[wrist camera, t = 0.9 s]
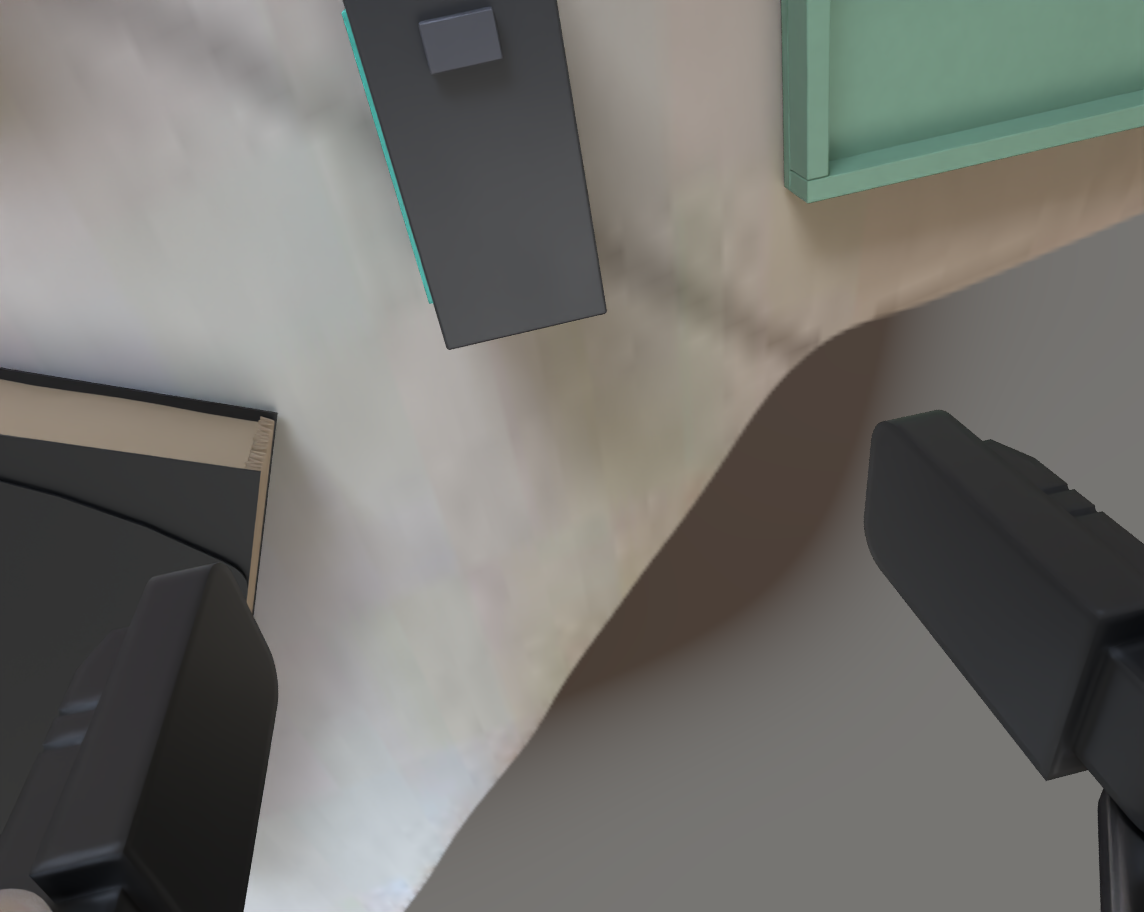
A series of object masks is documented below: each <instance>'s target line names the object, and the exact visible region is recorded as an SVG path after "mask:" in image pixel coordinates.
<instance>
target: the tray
mask: <svg viewBox="0 0 1144 912" xmlns="http://www.w3.org/2000/svg"><path fill="white" fill-rule="evenodd" d="M781 17H782V72H783V128H784V183H785V188H787V189H788V190H790V191H791V192H792V193H794V194H795V195H796V196H798V197H799V198H801V199H802V200H803V201H805V202H806V203H812V202H816V201H821V200H825V199H829V198H834V197H838V196H842V195H847V194H851V193H856V192H860V191H864V190H869V189H873V188H877V187H882V186H886V185H890V184H895V183H899V182H903V181H908V180H912V179H916V178H921V177H925V176H929V175H934V174H938V173H942V172H947V171H951V170H955V169H960V168H964V167H968V166H973V165H977V164H981V163H986V162H990V161H994V160H999V159H1003V158H1008V157H1012V156H1016V155H1021V154H1025V153H1029V152H1034V151H1038V150H1042V149H1047V148H1051V147H1055V146H1060V145H1064V144H1068V143H1073V142H1077V141H1081V140H1086V139H1090V138H1094V137H1099V136H1103V135H1107V134H1112V133H1116V132H1120V131H1125V130H1129V129H1133V128H1138V127H1142V126H1144V0H781Z"/></svg>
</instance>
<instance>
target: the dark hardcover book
mask: <svg viewBox="0 0 1144 912" xmlns="http://www.w3.org/2000/svg"><path fill="white" fill-rule="evenodd" d="M276 422H277V413H276V412H270V411H264V410H257V409H251V408H245V407H239V406H233V405H227V404H220V403H214V402H208V401H202V400H196V399H190V398H184V397H177V396H171V395H165V394H159V393H153V392H147V391H140V390H134V389H128V388H122V387H116V386H110V385H104V384H97V383H91V382H85V381H79V380H73V379H67V378H60V377H54V376H48V375H42V374H36V373H30V372H24V371H17V370H11V369H5V368H0V836H1V834H2V832H3V830H4V828H5V825H6V823H7V821H8V819H9V817H10V814H11V812H12V810H13V808H14V806H15V803H16V801H17V799H18V797H19V795H20V792H21V790H22V788H23V786H24V784H25V781H26V779H27V777H28V775H29V773H30V771H31V768H32V766H33V764H34V762H35V760H36V757H37V755H38V753H43V751H44V747H43V745H42V744H43V742H44V740H45V738H46V735H47V733H48V731H49V729H50V727H51V724H52V722H53V720H54V718H57V717H59V711H58V709H59V707H60V705H61V702H62V700H63V698H64V696H65V694H66V691H67V689H68V687H69V685H70V683H71V680H72V678H73V676H74V674H75V672H76V669H77V668H78V667H79V666H80V665H81V664H82V663H83V661H84V660H85V659H86V658H87V657H88V656H89V655H90V654H91V652H92V651H93V650H94V649H95V648H96V647H97V646H98V645H99V644H100V642H101V641H102V640H103V639H104V638H105V637H106V636H107V635H108V633H109V632H110V631H111V630H115V629H120V628H124V627H129V625H130V623H131V621H132V618H133V616H134V613H135V611H136V608H137V606H138V603H139V601H140V598H141V596H142V593H143V591H144V588H145V586H146V584H147V582H148V581H149V580H150V579H151V578H152V577H154V576H158V575H162V574H167V573H172V572H176V571H181V570H186V569H190V568H195V567H200V566H204V565H209V564H214V563H218V562H220V563H223V564H225V565H226V566H227V567H228V568H229V569H230V571H231V572H232V574H233V576H234V578H235V580H236V582H237V584H238V586H239V588H240V590H241V592H242V594H243V596H244V598H245V600H246V602H247V604H248V606H249V608H250V610H251V612H252V615H254V607H255V599H256V590H257V582H258V573H259V565H260V556H261V548H262V540H263V531H264V523H265V514H266V506H267V498H268V489H269V481H270V472H271V464H272V455H273V447H274V439H275V430H276Z"/></svg>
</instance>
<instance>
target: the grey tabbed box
mask: <svg viewBox="0 0 1144 912" xmlns="http://www.w3.org/2000/svg"><path fill="white" fill-rule="evenodd" d="M343 3H344V6H345V9H344V10H343V12H342V17H343V20H344V23H345V26H346V30H347V33H348V36H349V40H350V43H351V46H352V50H353V53H354V56H355V60H356V63H357V66H358V69H359V73H360V76H361V79H362V83H363V86H364V89H365V93H366V96H367V99H368V103H369V106H370V109H371V113H372V116H373V119H374V122H375V126H376V129H377V132H378V136H379V139H380V142H381V146H382V149H383V152H384V156H385V159H386V162H387V165H388V169H389V172H390V175H391V179H392V182H393V185H394V189H395V192H396V195H397V199H398V202H399V205H400V209H401V212H402V215H403V218H404V222H405V225H406V228H407V232H408V235H409V238H410V242H411V245H412V248H413V252H414V255H415V258H416V261H417V265H418V268H419V271H420V275H421V278H422V281H423V285H424V288H425V291H426V295H427V298H428V301H429V304H431V303H433V304H434V307H435V311H436V314H437V317H438V321H439V324H440V328H441V331H442V334H443V338H444V341H445V344H446V348H447V349H448V350H451V349H455V348H460V347H464V346H468V345H473V344H477V343H481V342H485V341H490V340H494V339H498V338H503V337H507V336H511V335H516V334H520V333H524V332H528V331H533V330H537V329H541V328H546V327H550V326H554V325H559V324H563V323H567V322H571V321H576V320H580V319H584V318H589V317H593V316H597V315H602V314H605V313H606V312H607V309H606V302H605V296H604V290H603V284H602V278H601V271H600V265H599V259H598V253H597V247H596V241H595V234H594V228H593V222H592V216H591V210H590V204H589V197H588V191H587V185H586V179H585V173H584V166H583V160H582V154H581V148H580V142H579V136H578V129H577V123H576V117H575V111H574V105H573V98H572V92H571V86H570V80H569V74H568V68H567V61H566V55H565V49H564V43H563V37H562V30H561V24H560V18H559V12H558V6H557V0H343Z"/></svg>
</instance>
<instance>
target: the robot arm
mask: <svg viewBox="0 0 1144 912" xmlns="http://www.w3.org/2000/svg"><path fill="white" fill-rule="evenodd" d="M864 530H865V536H866V540H867V544H868V547H869V549H870V552H871V555H872V557H873V559H874V561H875V562H876V564H877V565H878V567H879V569H880V570H881V571H882V572H883V574H884V575H885V576H886V577H887V579H888V580H889V581H890V583H891V584H892V585H893V586H894V588H895V589H896V590H897V592H898V593H899V594H900V595H901V596H902V598H903V599H904V600H905V602H906V603H907V604H908V606H909V607H910V608H911V609H912V611H913V612H914V613H915V614H916V616H917V617H918V618H919V620H920V621H921V622H922V623H923V625H924V626H925V627H926V628H927V630H928V631H929V632H930V634H931V635H932V636H933V637H934V639H935V640H936V641H937V643H938V644H939V645H940V646H941V647H942V649H943V650H944V651H945V653H946V654H947V655H948V657H949V658H950V659H951V660H952V662H953V663H954V664H955V666H956V667H957V668H958V669H959V671H960V672H961V673H962V674H963V676H964V677H965V678H966V680H967V681H968V682H969V683H970V685H971V686H972V687H973V688H974V690H975V691H976V692H977V693H978V695H979V696H980V697H981V699H982V700H983V701H984V702H985V704H986V705H987V706H988V708H989V709H990V710H991V711H992V713H993V714H994V715H995V716H996V718H997V719H998V720H999V722H1000V723H1001V724H1002V725H1003V727H1004V728H1005V729H1006V730H1007V732H1008V733H1009V734H1010V735H1011V737H1012V738H1013V739H1014V741H1015V742H1016V743H1017V744H1018V746H1019V747H1020V748H1021V750H1022V751H1023V752H1024V753H1025V755H1026V756H1027V757H1028V759H1029V760H1030V761H1031V762H1032V764H1033V765H1034V766H1035V768H1036V769H1037V770H1038V771H1039V773H1040V774H1041V775H1042V776H1043V778H1044V779H1045V780H1046V781H1047V780H1051V779H1055V778H1059V777H1063V776H1066V775H1070V774H1075V773H1078V772H1082V771H1086V770H1089V772H1090V773H1091V774H1092V775H1093V776H1094V777H1095V779H1096V780H1097V781H1098V782H1099V783H1100V784H1101V786H1102V787H1103V791H1102V793H1101V796H1100V799H1099V802H1098V838H1099V870H1100V898H1101V899H1100V902H1101V912H1144V544H1143V543H1142V542H1140V541H1139V540H1138V539H1137V538H1135V537H1134V536H1133V535H1132V534H1130V533H1129V532H1128V531H1127V530H1125V529H1124V528H1123V527H1121V526H1120V525H1119V524H1118V523H1116V522H1115V521H1114V520H1113V519H1111V518H1110V517H1109V516H1107V515H1106V514H1105V513H1104V512H1097V511H1096V510H1095V505H1094V504H1092V503H1091V502H1090V501H1088V500H1087V499H1086V498H1085V497H1083V496H1082V495H1081V494H1079V493H1078V492H1077V491H1076V490H1075V489H1073V490H1069V489H1068V486H1067V483H1066V482H1064V481H1063V480H1062V479H1061V478H1059V477H1058V476H1057V475H1056V474H1054V473H1053V472H1052V471H1050V470H1049V469H1048V468H1046V467H1045V466H1044V465H1043V464H1042V463H1040V462H1039V461H1038V460H1036V459H1035V458H1033V457H1031V456H1029V455H1026V454H1024V453H1021V452H1019V451H1017V450H1015V449H1012V448H1010V447H1007V446H1005V445H1003V444H1001V443H998V442H996V441H993V440H991V439H990V440H986V441H982V440H981V439H979V438H978V437H977V436H976V435H975V434H973V433H972V432H971V431H970V430H969V429H967V428H966V427H965V426H964V425H963V424H961V423H960V422H959V421H958V420H956V419H955V418H954V417H953V416H952V415H950V414H949V413H947V412H946V411H943V410H934V411H929V412H925V413H920V414H916V415H911V416H906V417H901V418H897V419H892V420H888V421H883V422H880V423H878V424H877V426H876V427H875V429H874V431H873V434H872V439H871V448H870V459H869V470H868V480H867V491H866V502H865V512H864ZM277 704H278V680H277V673H276V668H275V664H274V660H273V657H272V654H271V652H270V649H269V647H268V645H267V643H266V641H265V639H264V637H263V635H262V633H261V631H260V629H259V627H258V625H257V623H256V621H255V619H254V617H253V615H252V612H251V610H250V608H249V606H248V604H247V602H246V600H245V598H244V596H243V594H242V592H241V590H240V588H239V586H238V584H237V582H236V580H235V578H234V576H233V574H232V572H231V571H230V569H229V568H228V567H227V566H226V565H225V564H223V563H220V562H218V563H214V564H209V565H204V566H200V567H195V568H190V569H186V570H181V571H176V572H172V573H167V574H162V575H158V576H154V577H152V578H151V579H150V580H149V581H148V582H147V584H146V586H145V588H144V591H143V593H142V596H141V598H140V601H139V603H138V606H137V608H136V611H135V613H134V616H133V618H132V621H131V623H130V625H129V627H124V628H120V629H115V630H111V631H110V632H109V633H108V635H107V636H106V637H105V638H104V639H103V640H102V641H101V642H100V644H99V645H98V646H97V647H96V648H95V649H94V650H93V651H92V652H91V654H90V655H89V656H88V657H87V658H86V659H85V660H84V661H83V663H82V664H81V665H80V666H79V667H78V668H77V669H76V672H75V674H74V676H73V678H72V680H71V683H70V685H69V687H68V689H67V691H66V694H65V696H64V698H63V700H62V702H61V705H60V707H59V709H58V711H59V717H57V718H54V720H53V722H52V724H51V727H50V729H49V731H48V733H47V735H46V738H45V740H44V742H43V744H42V745H43V747H44V751H43V753H38V755H37V757H36V760H35V762H34V764H33V766H32V768H31V771H30V773H29V775H28V777H27V779H26V781H25V784H24V786H23V788H22V790H21V792H20V795H19V797H18V799H17V801H16V803H15V806H14V808H13V810H12V812H11V814H10V817H9V819H8V821H7V823H6V825H5V828H4V830H3V832H2V834H1V836H0V912H244V905H245V899H246V893H247V887H248V881H249V875H250V869H251V863H252V857H253V851H254V845H255V839H256V833H257V826H258V820H259V814H260V808H261V802H262V796H263V790H264V784H265V778H266V772H267V766H268V760H269V754H270V747H271V741H272V735H273V729H274V723H275V717H276V711H277Z"/></svg>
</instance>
